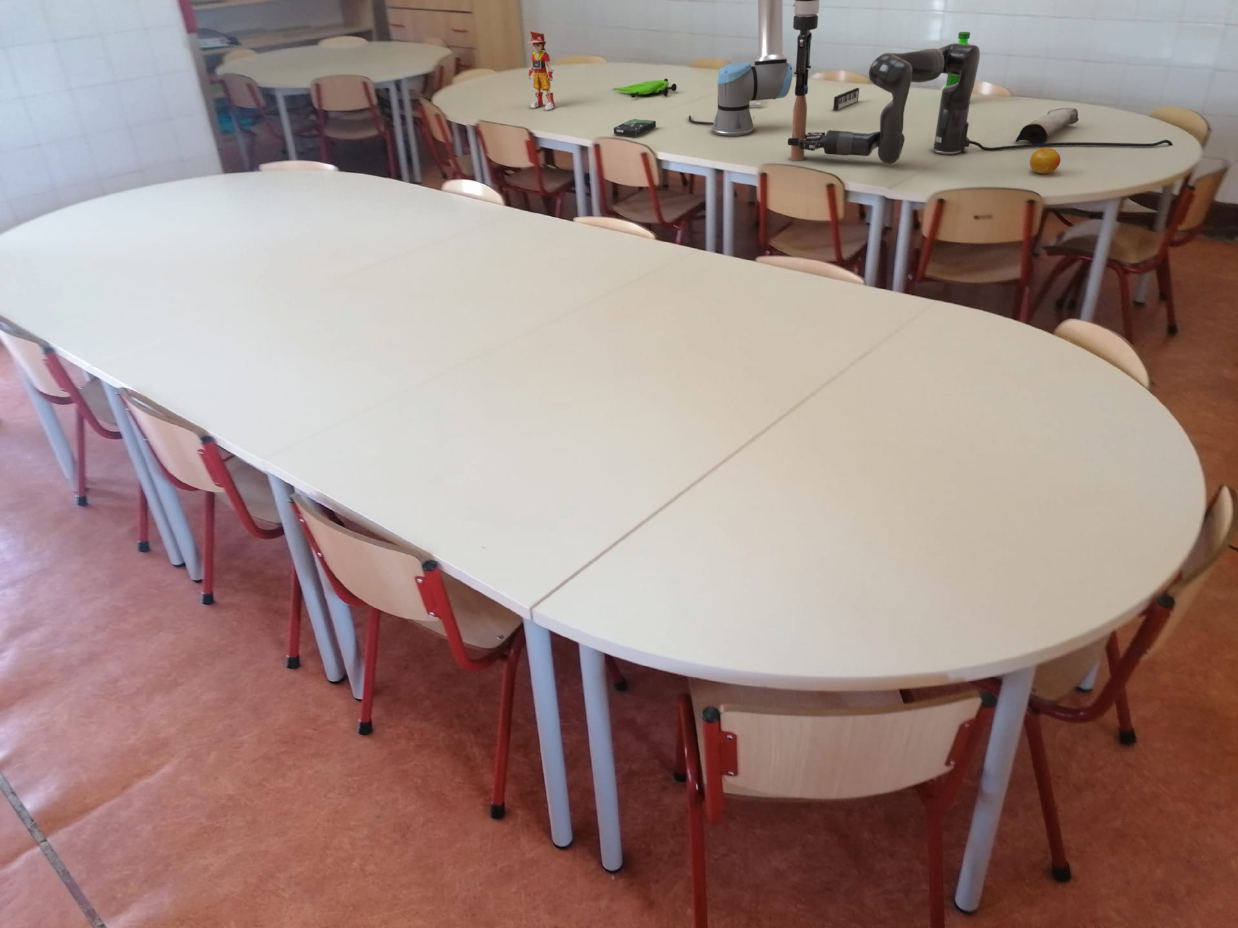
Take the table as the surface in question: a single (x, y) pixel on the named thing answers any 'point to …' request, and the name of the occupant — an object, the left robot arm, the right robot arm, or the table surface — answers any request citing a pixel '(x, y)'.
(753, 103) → the anatomical model
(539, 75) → the toy
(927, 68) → the right robot arm
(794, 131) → the bottle
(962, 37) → the plastic bottle
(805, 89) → the cap
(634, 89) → the toy
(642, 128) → the disk drive
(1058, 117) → the rolled mat
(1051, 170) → the fruit
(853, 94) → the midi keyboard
